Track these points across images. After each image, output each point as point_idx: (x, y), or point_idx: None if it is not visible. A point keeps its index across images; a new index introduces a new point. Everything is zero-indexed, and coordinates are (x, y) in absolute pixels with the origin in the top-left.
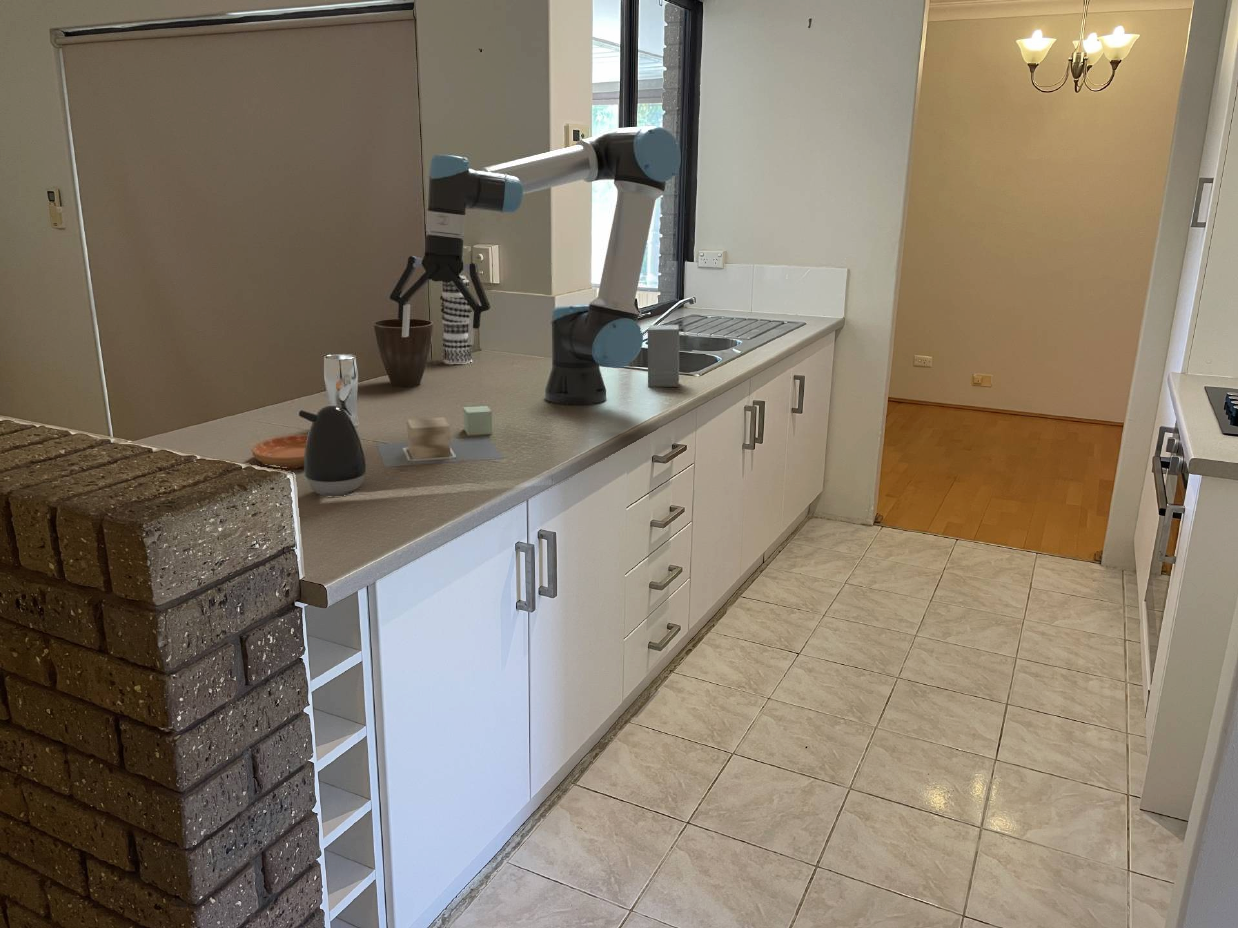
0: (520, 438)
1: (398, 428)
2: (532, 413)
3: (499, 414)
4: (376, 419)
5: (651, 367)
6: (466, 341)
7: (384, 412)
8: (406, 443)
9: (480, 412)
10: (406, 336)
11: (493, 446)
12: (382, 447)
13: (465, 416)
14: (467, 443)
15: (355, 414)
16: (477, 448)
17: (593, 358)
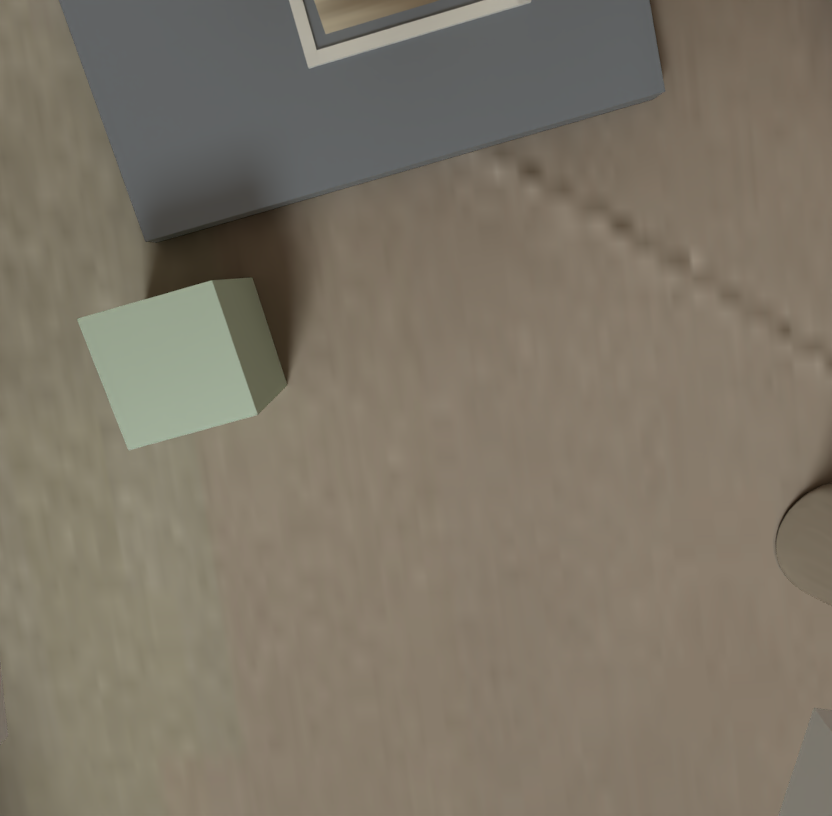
0: (14, 324)
1: (595, 489)
2: (37, 753)
3: (181, 732)
4: (706, 635)
5: None
6: None
7: (682, 748)
8: (523, 108)
9: (140, 301)
10: (802, 760)
11: (82, 50)
12: (632, 27)
13: (245, 345)
14: (222, 109)
15: (817, 550)
16: (157, 8)
17: None
